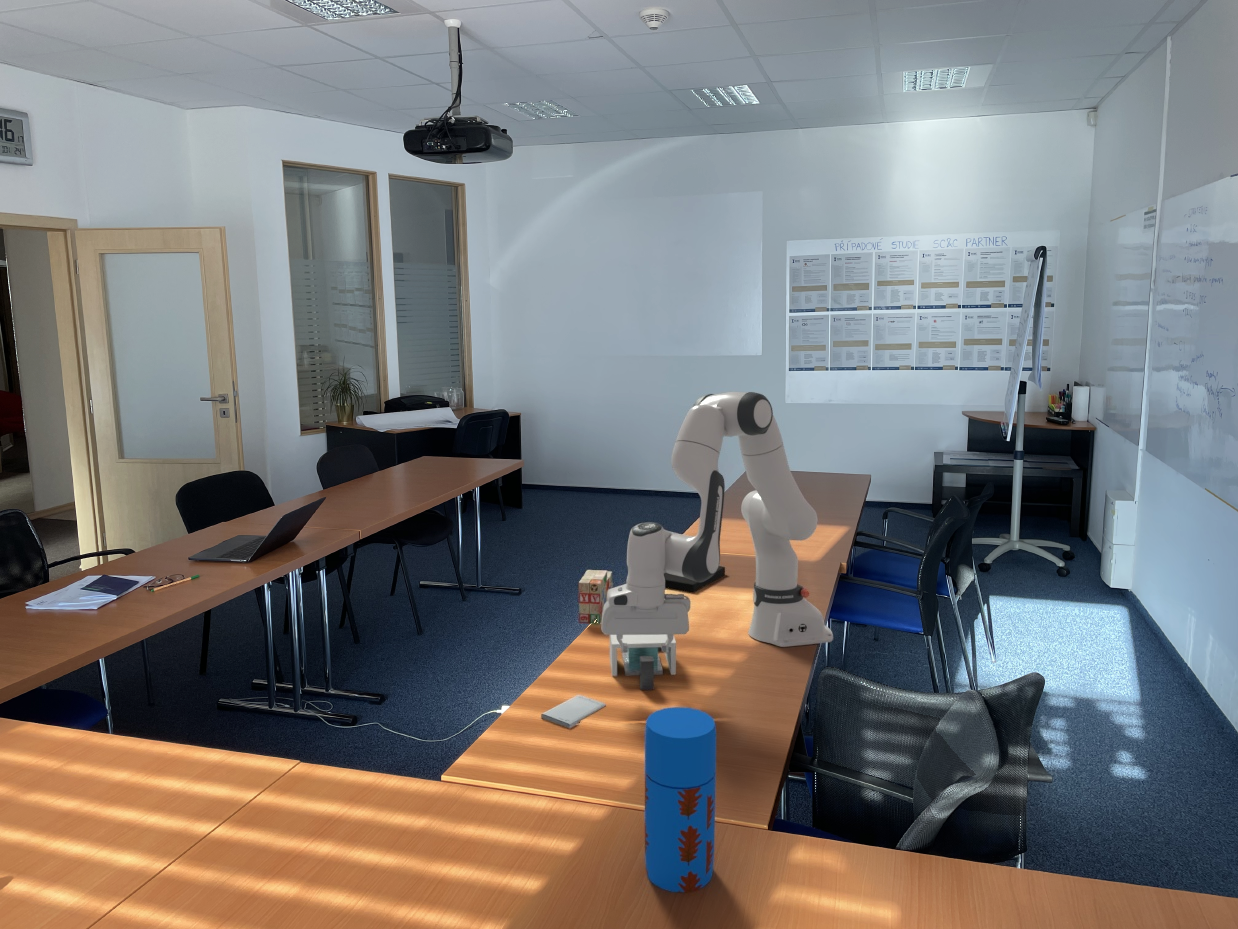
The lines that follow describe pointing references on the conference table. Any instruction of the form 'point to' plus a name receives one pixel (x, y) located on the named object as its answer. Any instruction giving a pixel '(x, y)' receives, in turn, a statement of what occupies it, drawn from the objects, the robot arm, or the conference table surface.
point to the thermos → (680, 798)
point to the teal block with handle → (643, 665)
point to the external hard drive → (690, 581)
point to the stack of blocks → (593, 595)
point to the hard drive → (572, 711)
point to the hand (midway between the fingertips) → (644, 651)
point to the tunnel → (642, 642)
